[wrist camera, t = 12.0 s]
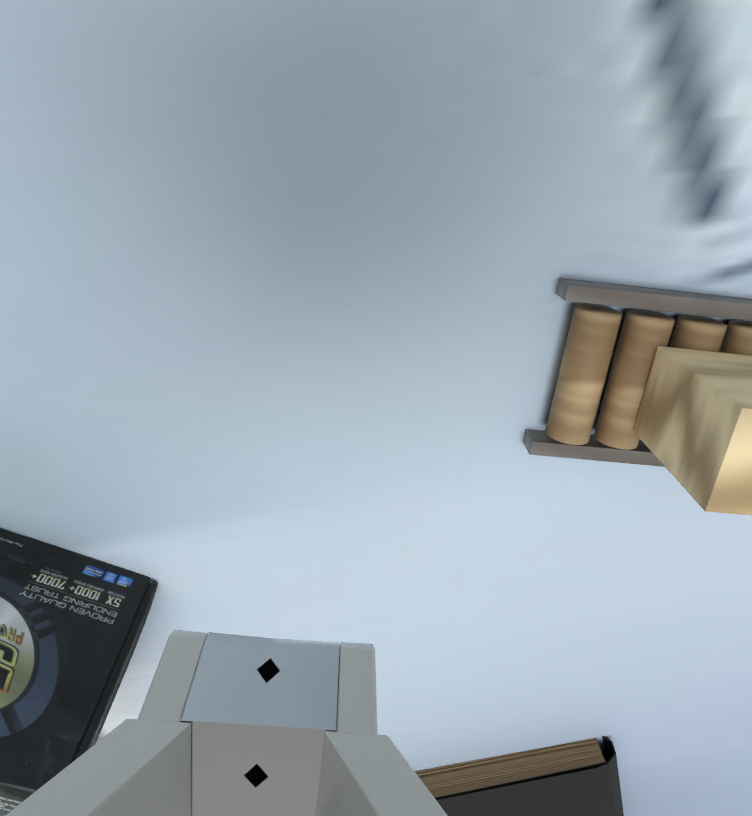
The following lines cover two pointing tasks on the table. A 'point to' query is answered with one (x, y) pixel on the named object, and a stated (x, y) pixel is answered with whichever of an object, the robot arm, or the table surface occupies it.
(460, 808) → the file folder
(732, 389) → the block
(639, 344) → the roller bed
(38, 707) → the box
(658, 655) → the table surface
